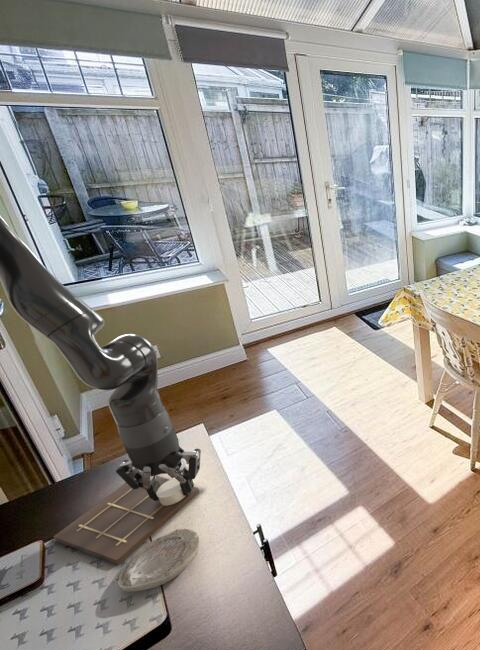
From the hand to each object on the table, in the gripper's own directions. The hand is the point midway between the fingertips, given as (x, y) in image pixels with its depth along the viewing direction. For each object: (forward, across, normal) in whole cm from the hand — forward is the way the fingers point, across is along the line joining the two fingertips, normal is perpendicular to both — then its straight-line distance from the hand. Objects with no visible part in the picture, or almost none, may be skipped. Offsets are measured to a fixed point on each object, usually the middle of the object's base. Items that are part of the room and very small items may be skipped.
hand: (173, 494), depth 86 cm
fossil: (+2, -4, +15) cm, 16 cm away
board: (+2, +7, +2) cm, 7 cm away
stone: (0, 0, 0) cm, 0 cm away
